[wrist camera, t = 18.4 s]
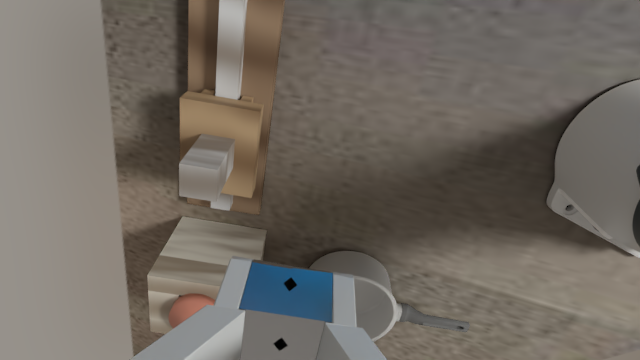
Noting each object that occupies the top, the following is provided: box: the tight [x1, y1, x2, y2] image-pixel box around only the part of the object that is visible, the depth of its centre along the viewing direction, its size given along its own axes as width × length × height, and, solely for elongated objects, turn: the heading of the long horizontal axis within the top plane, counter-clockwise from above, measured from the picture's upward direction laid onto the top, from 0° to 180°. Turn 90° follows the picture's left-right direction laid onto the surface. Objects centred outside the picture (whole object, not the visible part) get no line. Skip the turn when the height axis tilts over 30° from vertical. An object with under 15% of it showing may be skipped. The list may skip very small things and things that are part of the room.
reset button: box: [168, 293, 215, 329], centre depth 42 cm, size 5×5×4 cm
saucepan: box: [309, 251, 469, 342], centre depth 49 cm, size 12×20×6 cm, turn 82°
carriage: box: [179, 89, 264, 202], centre depth 36 cm, size 9×7×9 cm
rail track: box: [147, 0, 285, 334], centre depth 35 cm, size 50×10×10 cm, turn 170°
